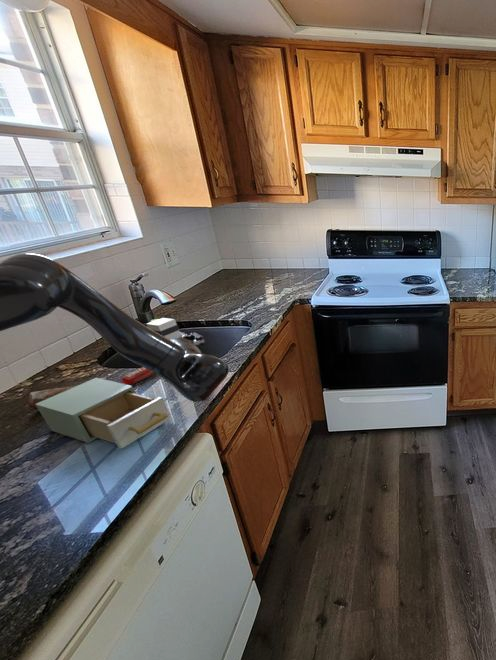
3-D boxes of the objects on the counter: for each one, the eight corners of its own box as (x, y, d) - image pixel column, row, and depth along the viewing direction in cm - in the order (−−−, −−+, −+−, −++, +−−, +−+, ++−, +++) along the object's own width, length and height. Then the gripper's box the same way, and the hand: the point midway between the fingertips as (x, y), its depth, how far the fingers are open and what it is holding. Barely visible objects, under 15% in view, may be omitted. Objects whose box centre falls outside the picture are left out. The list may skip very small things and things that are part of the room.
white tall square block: (180, 380, 103) (157, 325, 96) (168, 378, 105) (145, 323, 98) (195, 372, 107) (175, 319, 100) (184, 370, 109) (163, 317, 102)
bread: (41, 404, 108) (31, 389, 106) (122, 387, 116) (114, 372, 113) (31, 416, 103) (21, 400, 100) (116, 397, 111) (108, 381, 108)
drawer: (182, 421, 97) (173, 400, 95) (133, 452, 87) (121, 430, 84) (135, 408, 103) (126, 388, 100) (84, 436, 93) (71, 415, 90)
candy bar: (129, 387, 115) (125, 379, 114) (120, 386, 116) (116, 378, 115) (176, 363, 129) (173, 356, 128) (168, 362, 130) (165, 355, 129)
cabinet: (144, 411, 103) (132, 386, 100) (88, 443, 92) (72, 415, 88) (109, 402, 108) (96, 377, 105) (51, 430, 97) (34, 404, 93)
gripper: (209, 333, 96) (190, 319, 106) (142, 353, 86) (129, 335, 97) (218, 358, 99) (199, 342, 109) (154, 380, 89) (140, 360, 100)
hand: (166, 339), depth 103 cm, fingers closed on white tall square block, 6 cm apart
